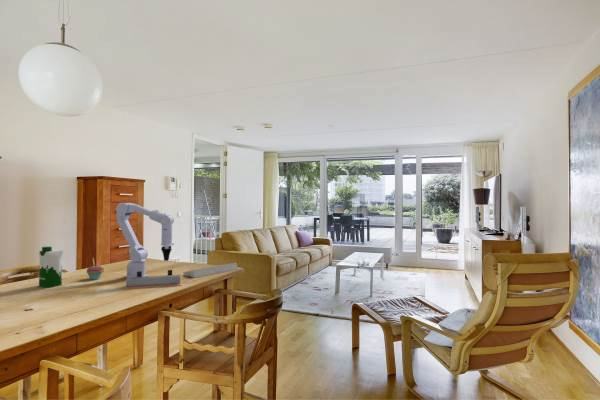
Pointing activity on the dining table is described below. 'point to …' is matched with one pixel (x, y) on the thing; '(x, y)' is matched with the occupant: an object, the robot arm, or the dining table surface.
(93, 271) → the cupcake
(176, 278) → the rail
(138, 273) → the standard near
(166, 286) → the mat
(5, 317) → the dining table surface
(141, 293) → the dining table surface
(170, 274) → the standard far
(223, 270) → the decorative molding
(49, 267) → the milk carton
